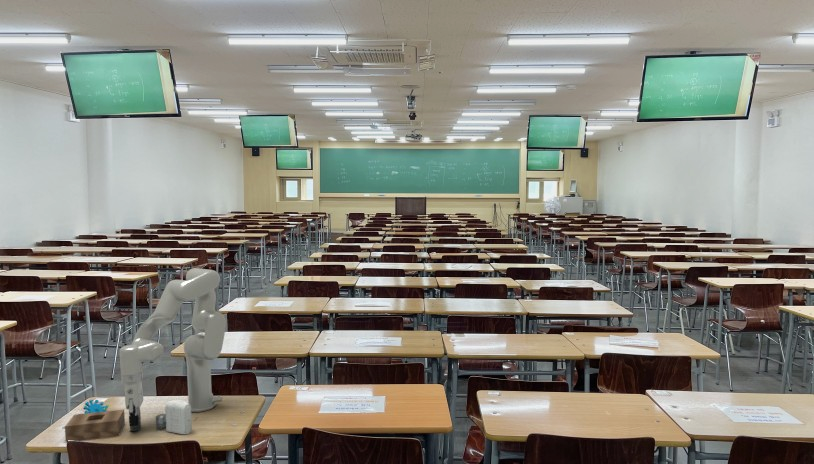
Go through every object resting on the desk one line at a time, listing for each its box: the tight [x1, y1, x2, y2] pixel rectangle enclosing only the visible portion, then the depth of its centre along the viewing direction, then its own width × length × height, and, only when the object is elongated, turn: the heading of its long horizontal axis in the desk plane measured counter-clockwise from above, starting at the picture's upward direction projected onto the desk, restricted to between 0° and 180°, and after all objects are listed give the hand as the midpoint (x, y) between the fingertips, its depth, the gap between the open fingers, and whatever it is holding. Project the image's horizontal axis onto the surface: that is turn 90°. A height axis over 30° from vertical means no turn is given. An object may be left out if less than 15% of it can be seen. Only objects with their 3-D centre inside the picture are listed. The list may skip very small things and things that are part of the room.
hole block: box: [64, 408, 126, 442], centre depth 222 cm, size 18×12×6 cm, turn 106°
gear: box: [82, 399, 110, 414], centre depth 237 cm, size 11×6×10 cm
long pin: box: [129, 406, 142, 432], centre depth 223 cm, size 4×4×10 cm
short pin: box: [155, 413, 166, 431], centre depth 226 cm, size 4×4×5 cm
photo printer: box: [165, 399, 193, 435], centre depth 222 cm, size 10×4×12 cm, turn 69°
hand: (135, 422), depth 223 cm, fingers closed on long pin, 4 cm apart
